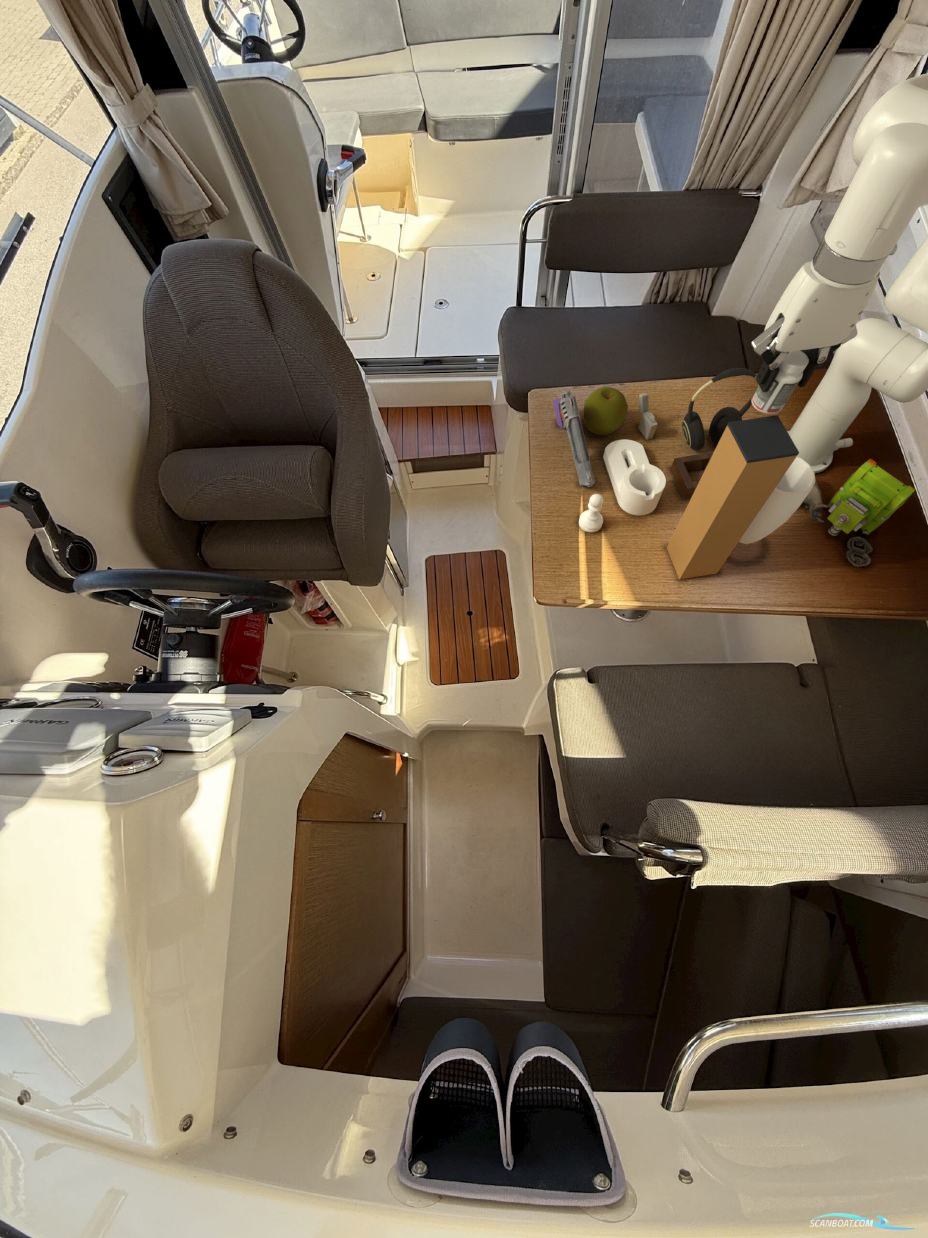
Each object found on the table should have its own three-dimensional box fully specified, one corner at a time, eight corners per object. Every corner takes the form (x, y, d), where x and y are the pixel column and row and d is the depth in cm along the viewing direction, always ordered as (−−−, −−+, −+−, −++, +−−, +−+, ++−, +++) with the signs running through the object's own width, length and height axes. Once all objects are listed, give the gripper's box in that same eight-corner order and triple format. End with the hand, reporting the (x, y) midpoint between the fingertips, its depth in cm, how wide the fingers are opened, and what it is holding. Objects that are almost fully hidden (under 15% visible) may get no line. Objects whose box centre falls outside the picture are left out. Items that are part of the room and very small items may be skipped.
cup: (733, 570, 117) (781, 504, 97) (703, 533, 121) (744, 462, 102) (775, 552, 118) (831, 483, 99) (745, 516, 123) (792, 443, 104)
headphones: (741, 452, 131) (781, 380, 113) (678, 460, 130) (708, 389, 113) (728, 425, 135) (765, 351, 117) (667, 432, 134) (694, 359, 117)
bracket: (662, 512, 124) (671, 492, 118) (623, 517, 124) (629, 498, 118) (637, 444, 133) (644, 422, 127) (600, 449, 133) (605, 427, 127)
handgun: (572, 495, 139) (584, 487, 124) (550, 402, 137) (559, 383, 122) (586, 491, 139) (599, 483, 124) (564, 399, 136) (575, 379, 121)
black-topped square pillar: (703, 541, 120) (777, 414, 89) (717, 573, 117) (799, 452, 86) (666, 547, 120) (728, 422, 89) (679, 579, 116) (748, 460, 85)
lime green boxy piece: (828, 484, 125) (785, 517, 121) (887, 446, 110) (840, 483, 106) (869, 530, 123) (827, 565, 120) (934, 498, 108) (888, 537, 105)
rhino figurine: (805, 531, 120) (820, 514, 115) (780, 481, 126) (793, 462, 121) (824, 529, 120) (839, 511, 115) (798, 479, 126) (812, 460, 121)
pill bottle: (784, 399, 89) (814, 352, 81) (778, 419, 87) (809, 372, 79) (754, 389, 89) (781, 342, 82) (747, 408, 87) (775, 361, 80)
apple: (587, 446, 133) (595, 409, 124) (574, 417, 138) (580, 379, 128) (628, 437, 134) (639, 400, 124) (613, 409, 138) (623, 371, 129)
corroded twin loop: (841, 564, 116) (844, 561, 115) (845, 535, 120) (848, 532, 119) (867, 572, 115) (871, 569, 114) (871, 543, 119) (874, 540, 118)
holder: (707, 463, 130) (712, 452, 127) (721, 492, 126) (727, 482, 123) (669, 468, 129) (674, 457, 126) (682, 499, 125) (687, 488, 122)
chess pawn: (591, 510, 125) (599, 483, 117) (606, 525, 123) (615, 498, 115) (573, 521, 124) (579, 494, 116) (588, 536, 122) (595, 510, 114)
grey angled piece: (653, 437, 134) (662, 411, 127) (646, 439, 134) (655, 413, 126) (637, 417, 137) (646, 390, 130) (631, 419, 137) (639, 392, 130)
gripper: (901, 231, 70) (823, 358, 87) (768, 248, 70) (714, 373, 86) (933, 267, 67) (845, 393, 83) (793, 286, 66) (733, 408, 83)
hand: (779, 382), depth 84 cm, fingers closed on pill bottle, 4 cm apart
